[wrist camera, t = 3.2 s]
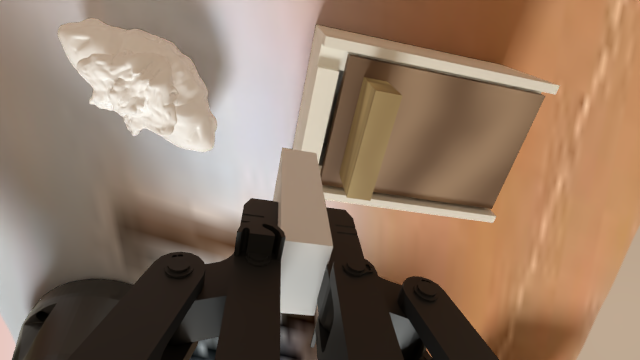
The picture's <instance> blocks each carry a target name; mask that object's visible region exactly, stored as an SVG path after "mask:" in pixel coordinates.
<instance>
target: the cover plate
mask: <svg viewBox="0 0 640 360" xmlns="http://www.w3.org/2000/svg"><path fill="white" fill-rule="evenodd" d="M544 98H545V96H544V95H542V94H539V93H535V92H531V91H526V90H521V89H516V88H511V87H506V86H502V85H497V84H492V83H487V82H482V81H477V80H473V79H468V78H463V77H458V76H453V75H448V74H443V73H439V72H434V71H429V70H424V69H419V68H414V67H410V66H405V65H400V64H395V63H390V62H385V61H381V60H376V59H371V58H366V57H361V56H356V55H352V54H348V56H347V60H346V64H345V69H344V73H343V77H342V82H341V86H340V90H339V95H338V99H337V103H336V108H335V112H334V116H333V121H332V125H331V129H330V134H329V138H328V142H327V147H326V151H325V155H324V160H323V164H322V168H321V173H320V176H321V181H322V185H328V186H335V187H342V188H344V191H345V194H346V197H347V198H353V199H360V200H368V201H370V200H371V197H372V194H373V192H377V193H384V194H391V195H398V196H405V197H412V198H419V199H426V200H433V201H440V202H447V203H454V204H461V205H468V206H475V207H482V208H489V209H492V207H493V205H494V203H495V201H496V199H497V197H498V195H499V193H500V190H501V188H502V186H503V184H504V182H505V180H506V178H507V176H508V174H509V171H510V169H511V167H512V165H513V163H514V161H515V159H516V157H517V155H518V153H519V150H520V148H521V146H522V144H523V142H524V140H525V138H526V136H527V134H528V131H529V129H530V127H531V125H532V123H533V121H534V119H535V117H536V115H537V113H538V110H539V108H540V106H541V104H542V102H543V100H544Z"/></svg>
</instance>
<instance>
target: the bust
mask: <svg viewBox="0 0 640 360" xmlns="http://www.w3.org/2000/svg"><path fill="white" fill-rule="evenodd" d="M58 37H59V39H60V42H61V43H62V46H63V48H64V51H65V53H66V55H67V57H68V59H69V60H70V62H71V64H72V65H73V66H74V68H75V69H77V71H78V73H79V74H80V75H81V76H82V77H83V78H84V79H85V80H86V81H87V82H88V83H89V84H90V85H91V86H92V87H93V94H92V97H91V98H90V100H89V103H90V104H94V105H96V106H97V107H98V108H100V109H103V108H104V109H107V110H110V111H112V110H114V111H115V112H116V113H118V114H119V115H121V116H122V117H123V118H124V122H125V124H126V125H127V129H128V130H129V131H131V132H132V135H133V136H136V135H138V134H139V133H140V131H141V130H142V129H144V128H146V129H149V130H150V131H152V132H154V133H156V134H158V135H159V136H162V137H163V138H164V139H166V140H167V141H168V142H171V143H172V144H174V145H175V146H177V147H180V148H183V149H187V150H194V151H199V152H207V151H210V150H211V149H213V147H214V141H215V131H216V129H217V121H216V118H215V117H214V116H213V114H212V113H211V111H210V109H209V104H208V100H207V96H208V90H207V88H206V85H205V83H204V82H203V80H202V79H201V78H200V77H199V74H198V72H197V70H196V67H195V65H194V64H193V62H192V60H191V59H190V58H189V57H188V56H186V55H184V54H182V53H181V52H180V51H179V49H178V48H177V47H176V46H175V45H174V43H172V42H170V41H168V40H166V39H164V38H160V37H158V36H156V35H151V34H150V33H148V32H145V31H143V30H139V29H131V30H125V29H122V28H119V27H112V26H109V25H107V24H105V23H104V22H102V21H101V20H98V19H94V18H89V19H86V20H84V21H82V22H75V23H67V24H63V25H61V26H60V28H59V29H58Z"/></svg>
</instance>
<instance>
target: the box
mask: <svg viewBox="0 0 640 360" xmlns="http://www.w3.org/2000/svg"><path fill="white" fill-rule="evenodd" d="M348 54H352V55H356V56H361V57H366V58H371V59H376V60H381V61H385V62H390V63H395V64H400V65H405V66H410V67H414V68H419V69H424V70H429V71H434V72H439V73H443V74H448V75H453V76H458V77H463V78H468V79H473V80H477V81H482V82H487V83H492V84H497V85H502V86H506V87H511V88H516V89H521V90H526V91H531V92H535V93H539V94H541V92H546V93H550V94H555V95H556V93H557V91H558V88H559V85H556V84H554V83H551V82H548V81H545V80H543V79H540V78H537V77H534V76H532V75H529V74H526V73H523V72H521V71H518V70H515V69H512V68H510V67H507V66H504V65H501V64H496V63H491V62H487V61H482V60H478V59H473V58H468V57H464V56H459V55H455V54H450V53H445V52H441V51H436V50H432V49H427V48H422V47H418V46H413V45H409V44H404V43H399V42H395V41H390V40H386V39H381V38H376V37H372V36H367V35H363V34H358V33H353V32H349V31H344V30H340V29H335V28H330V27H326V26H321V25H317V24H316V26H315V32H314V37H313V42H312V47H311V53H310V58H309V63H308V69H307V74H306V79H305V85H304V90H303V95H302V101H301V106H300V111H299V116H298V122H297V127H296V132H295V138H294V143H293V148H292V149H293V150H300V151H306V152H312V153H316V154H317V159H318V165H319V170H320V173H321V168H322V164H323V160H324V155H325V151H326V147H327V142H328V138H329V134H330V129H331V125H332V121H333V116H334V112H335V108H336V103H337V99H338V95H339V90H340V86H341V82H342V77H343V73H344V69H345V64H346V60H347V56H348ZM322 187H323V193H324V198H325V200H329V201H336V202H343V203H351V204H358V205H366V206H373V207H380V208H388V209H395V210H403V211H410V212H417V213H425V214H432V215H439V216H447V217H454V218H462V219H469V220H476V221H484V222H491V223H493V222H494V220H495V218H496V216H495V215H494V213H493V212H492V211H491V210H490V209H489V208H482V207H475V206H468V205H461V204H454V203H447V202H440V201H433V200H426V199H419V198H412V197H405V196H398V195H391V194H384V193H377V192H373V194H372V197H371V200H370V201H368V200H360V199H353V198H347V197H346V194H345V191H344V188H342V187H335V186H328V185H322Z"/></svg>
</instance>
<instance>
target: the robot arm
mask: <svg viewBox="0 0 640 360" xmlns="http://www.w3.org/2000/svg"><path fill="white" fill-rule="evenodd" d="M317 304H318V314H319V316H318V319H317V323H316V326H315V330H314V333H313V337H312V340H311V346H310V347H314V345H315V342H316V344H317V356H318V360H499V359H498V358H497V356H496V355H495V354H494V353H493V351H492V350H491V349H490V348H489V346H488V345H487V344H486V343H485V341H484V340H483V339H482V338H481V336H480V335H479V334H478V333H477V331H476V330H475V329H474V328H473V326H472V325H471V324H470V323H469V321H468V320H467V319H466V318H465V316H464V315H463V314H462V313H461V311H460V310H459V309H458V307H457V306H456V305H455V304H454V302H453V301H452V300H451V299H450V297H449V296H448V295H447V294H446V292H445V291H444V290H443V289H442V288H441V287H440V286H439V285H438V284H436V283H434V282H433V281H431V280H429V279H426V278H423V277H415V276H413V277H409V278H407V279H406V280H405V281H404V282H403V285H399V284H396V283H393V282H390V281H387V280H385V279H383V278H381V277H379V276H378V275H377V271H376V270H375V268H374V266H373V265H372V264H371V263H370V262H369V261H368V260H366V259H364V256H363V253H362V249H361V245H360V242H359V238H358V236H357V231H356V229H355V224H354V221H353V218H352V217H351V216H350V215H349V214H348V213H347V211H346V210H341V209H334V208H326V204H325V198H324V193H323V187H322V181H321V176H320V170H319V165H318V159H317V154H316V153H312V152H306V151H300V150H293V149H287V148H282V152H281V158H280V163H279V169H278V175H277V181H276V186H275V192H274V198H273V201H268V200H260V199H253V198H251V199H250V200H249V201H248V202H247V203H246V204H245V205H244V209H243V214H242V219H241V225H240V227H239V229H238V231H237V236H236V244H235V252H234V253H233V254H232V256H230V257H229V258H227V259H226V260H223V261H221V262H216V263H211V264H204V262H203V261H202V260H201V259H200V258H199V257H198V256H196V255H194V254H191V253H186V252H175V253H169V254H167V255H164V256H161V257H160V258H159V259H157V260H156V261H155V262H154V263H153V264H152V265H151V266H150V267H149V268H148V270H147V271H146V272H145V273H144V274H143V275H142V276H141V277H140V279H139V280H138V281H137V282H136V283H135V284H134V285H133V286H132V285H129V284H126V283H122V282H117V281H111V280H100V279H92V280H81V281H75V282H71V283H67V284H64V285H61V286H59V287H57V288H55V289H53V290H51V291H50V292H48V293H47V294H46V295H44V296H43V297H42V298H41V299H40V301H39V302H38V303H37V304H36V306H35V307H34V308H33V310H32V311H31V312H30V314H29V315H28V316H27V318H26V319H25V321H24V323H23V325H22V327H21V330H20V334H19V337H18V340H17V344H16V347H15V351H14V354H13V358H12V360H189V359H190V357H191V356H192V354H193V352H194V350H195V348H196V346H197V344H198V341H200V340H205V339H210V338H215V337H219V340H218V345H217V351H216V356H215V360H280V313H289V314H301V315H312V316H314V314H315V311H316V307H317ZM426 348H427V349H428V351H429V353H430V354H431V356H432V357H433V358H432V357H431V356H430V355H429V354H428V352H427V351H426Z"/></svg>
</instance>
